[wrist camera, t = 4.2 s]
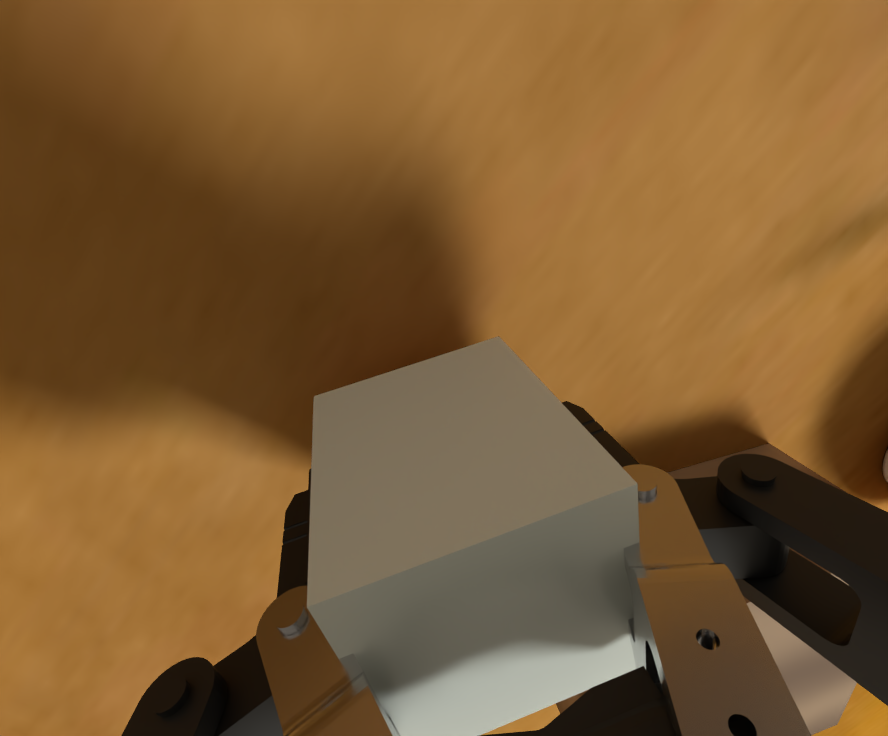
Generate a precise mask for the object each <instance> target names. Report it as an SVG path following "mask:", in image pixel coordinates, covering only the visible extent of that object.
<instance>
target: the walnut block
mask: <svg viewBox="0 0 888 736" xmlns="http://www.w3.org/2000/svg"><path fill="white" fill-rule="evenodd" d="M738 454H759V455H764V456H768V457H771V458H774V459H777V460H779V461H781V462H783V463H785V464H787V465H790V466H792V467H794V468H796V469H798V470H800V471H802V472H804V473H806V474H808V475H810V476H813V477H815V478H817V479H819V480H821V481H823V482H825V483H827V484H829V485H831V486H833V487H836V488H838V489H840V488H839V487H837V486H835V485H834V484H832V483H831V482H829V481H828V480H826V479H824V478H823V477H821V476H820V475H818V474H816V473H815V472H813V471H812V470H810V469H809V468H807V467H805V466H804V465H802V464H801V463H799V462H798V461H796V460H794V459H793V458H791V457H790V456H788V455H787V454H785V453H783V452H782V451H780V450H779V449H777V448H776V447H774V446H772V445H771V444H765V445H762V446H758V447H755V448H751V449H748V450H744V451H741V452H737V453H734V454H730V455H727V456H723V457H720V458H717V459H713V460H710V461H706V462H703V463H699V464H696V465H692V466H689V467H685V468H682V469H678V470H675V471H671V472H668V474H669V475H671V476H672V477H673V478H674V479H690V478H701V477H712V476H717V472H718V467H719V465H720V463H721V462H722V461H723V460H725V459H726V458H728V457H731V456H733V455H738ZM840 490H842V489H840ZM842 491H843V490H842ZM844 492H845V491H844ZM790 549H791V548H790ZM791 550H792V551H794V552H796V551H795V550H793V549H791ZM796 553H797V554H799V555H800V556H802V557H804V556H803V555H801V554H800V553H798V552H796ZM804 558H805V559H807V560H808V561H810V562H812V563H813V564H815V565H817V564H816V563H814V562H813V561H811V560H809V559H808V558H806V557H804ZM817 566H818V567H820V568H821V569H823V570H825V571H826V572H828V573H830V572H829V571H827V570H826V569H824V568H822V567H821V566H819V565H817ZM830 574H831V575H833V576H834V577H836V578H838V579H839V580H841V581H842V582H844V581H843V580H842V579H840V578H839V577H837V576H835V575H834V574H832V573H830ZM844 583H846V582H844ZM846 584H847V583H846ZM847 585H848V584H847ZM743 597H744V596H743ZM744 599H745V601H746V603H747V605H748V607H749V609H750V611H751V613H752V615H753V618H754V620H755V622H756V624H757V626H758V628H759V630H760V632H761V634H762V636H763V638H764V640H765V642H766V644H767V646H768V648H769V650H770V652H771V654H772V656H773V658H774V660H775V662H776V664H777V666H778V668H779V671H780V673H781V675H782V677H783V679H784V681H785V683H786V685H787V687H788V689H789V691H790V693H791V695H792V697H793V699H794V701H795V703H796V705H797V707H798V709H799V711H800V713H801V715H802V717H803V719H804V722H805V724H806V726H807V728H808V730H809V732H810V734H811V735H813V734H815V733H818V732H820V731H822V730H825V729H827V728H830V727H832V726H835V725H837V724H838V722H839V720H840V717H841V715H842V713H843V711H844V709H845V707H846V705H847V703H848V700H849V698H850V696H851V694H852V692H853V690H854V688H855V686H856V683H857V682H856V681H854V680H853V679H852V678H850V677H849V676H848V675H846V674H845V673H844V672H843V671H841V670H840V669H839V668H837V667H836V666H835V665H833V664H832V663H831V662H829V661H828V660H827V659H825V658H824V657H823V656H821V655H820V654H819V653H817V652H816V651H815V650H814V649H812V648H811V647H810V646H808V645H807V644H806V643H804V642H803V641H802V640H800V639H799V638H798V637H796V636H795V635H794V634H792V633H791V632H790V631H788V630H787V629H786V628H784V627H783V626H782V625H781V624H779V623H778V622H777V621H775V620H774V619H773V618H771V617H770V616H769V615H767V614H766V613H765V612H763V611H762V610H761V609H759V608H758V607H757V606H755V605H754V604H753V603H752V602H750V601H749V600H748V599H746V598H745V597H744ZM587 691H588V690H586V691H584V692H582V693H579V694H577V695H574V696H572V697H570V698H567V699H565V700H563V701H560V702H558V703H556V705H557V707H558V709H559V712H560V714H561V713H562V712H563V711H565V710H566V709H567V708H568V707H569V706H570V705H572V704H573V703H574V702H575V701H576V700H577V699H579V698H580V697H581V696H582V695H583V694H584V693H586V692H587Z"/></svg>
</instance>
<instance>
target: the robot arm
mask: <svg viewBox="0 0 888 736" xmlns="http://www.w3.org/2000/svg"><path fill="white" fill-rule="evenodd" d="M562 404H563V405H564V406H565V407H566V408H567V409H568V410H569V411H570V412H571V413H572V415H573V416H574V417H575V418H576V419H577V420H578V421H579V422H580V423H581V424H582V425H583V426H584V427H585V428H586V429H587V430H588V432H589V433H590V434H591V435H592V436H593V437H594V438H595V439H596V440H597V441H598V442H599V443H600V444H601V445H602V446H603V448H604V449H605V450H606V451H607V452H608V453H609V454H610V455H611V456H612V457H613V458H614V459H615V460H616V461H617V462H618V463H619V465H620V466H621V467H622V468H623V469H624V470H625V471H626V472H627V473H628V474H629V475H630V476H631V477H632V478H633V479H634V481H635V482H636V483H637V485H638V514H639V543H636V544H634V545H631V546H628V547H626V548H624V563H625V569H626V573H627V577H628V581H629V585H630V590H631V595H632V601H633V612H634V618H631V619H629V620H628V629H629V637H630V641H631V645H632V650H633V654H634V659H635V665H636V669H635V670H632V671H630V672H628V673H625V674H623V675H621V676H618V677H616V678H613V679H611V680H609V681H606V682H604V683H602V684H599V685H597V686H594V687H592V688H590V689H589V690H588V691H587V692H586V693H584V694H583V695H582V696H581V697H580V698H579V699H577V700H576V701H575V702H574V703H573V704H572V705H570V706H569V707H568V708H567V709H566V710H565V711H563V712H562V713H561V714H560V715H559V716H558V717H556V718H555V719H554V720H553V721H552V722H551V723H549V724H548V725H547V726H546V727H544V728H542V729H540V730H536V731H526V732H514V733H503V734H492V735H481V736H811V734H810V732H809V730H808V728H807V726H806V724H805V722H804V719H803V717H802V715H801V713H800V711H799V709H798V707H797V705H796V703H795V701H794V699H793V697H792V695H791V693H790V691H789V689H788V687H787V685H786V683H785V681H784V679H783V677H782V675H781V673H780V671H779V668H778V666H777V664H776V662H775V660H774V658H773V656H772V654H771V652H770V650H769V648H768V646H767V644H766V642H765V640H764V638H763V636H762V634H761V632H760V630H759V628H758V626H757V624H756V622H755V620H754V618H753V615H752V613H751V611H750V609H749V607H748V605H747V603H746V601H745V599H744V597H745V598H746V599H748V600H749V601H750V602H752V603H753V604H754V605H755V606H757V607H758V608H759V609H761V610H762V611H763V612H765V613H766V614H767V615H769V616H770V617H771V618H773V619H774V620H775V621H777V622H778V623H779V624H781V625H782V626H783V627H784V628H786V629H787V630H788V631H790V632H791V633H792V634H794V635H795V636H796V637H798V638H799V639H800V640H802V641H803V642H804V643H806V644H807V645H808V646H810V647H811V648H812V649H814V650H815V651H816V652H817V653H819V654H820V655H821V656H823V657H824V658H825V659H827V660H828V661H829V662H831V663H832V664H833V665H835V666H836V667H837V668H839V669H840V670H841V671H843V672H844V673H845V674H846V675H848V676H849V677H850V678H852V679H853V680H854V681H856V682H857V683H858V684H860V685H861V686H862V687H864V688H865V689H866V690H868V691H869V692H870V693H872V694H873V695H874V696H876V697H877V698H878V699H879V700H881V701H882V702H883V703H885V704H886V705H887V706H888V512H886V511H884V510H882V509H880V508H877V507H875V506H873V505H871V504H869V503H867V502H865V501H863V500H861V499H859V498H857V497H854V496H852V495H850V494H848V493H846V492H844V491H842V490H840V489H838V488H836V487H833V486H831V485H829V484H827V483H825V482H823V481H821V480H819V479H817V478H815V477H813V476H810V475H808V474H806V473H804V472H802V471H800V470H798V469H796V468H794V467H792V466H790V465H787V464H785V463H783V462H781V461H779V460H777V459H774V458H771V457H768V456H764V455H759V454H738V455H733V456H731V457H728V458H726V459H725V460H723V461H722V462H721V463H720V465H719V467H718V472H717V476H712V477H701V478H690V479H674V478H673V477H672V476H671V475H669V474H668V473H667V472H665V471H663V470H661V469H659V468H657V467H653V466H649V465H641V464H639V463H638V462H637V461H636V460H635V459H634V458H633V457H632V456H631V455H630V454H629V453H628V452H627V451H626V450H625V449H624V448H623V447H622V446H621V445H620V444H619V443H618V442H617V441H616V440H615V439H614V438H613V437H612V436H611V435H610V434H609V433H608V432H607V431H604V429H603V427H602V426H601V425H600V424H598V423H597V422H595V420H594V419H593V418H592V417H591V416H590V415H589V414H588V413H587V412H586V411H585V410H584V409H583V408H581V407H579V406H577V405H575V404H572V403H570V402H568V401H565V402H562ZM310 495H311V469H310V470H309V487H308V490H307V491H304V492H301V493H298V494H295V496H294V497H293V499H292V501H291V503H290V505H289V506H288V508H287V510H286V513H285V523H284V530H285V531H284V533H283V545H282V552H281V562H280V572H279V582H278V592H277V598H276V599H275V600H274V601H273V602H272V603H271V604H270V605H269V607H268V608H267V609H266V610H265V612H264V613H263V615H262V617H261V619H260V621H259V624H258V627H257V631H256V635H255V636H254V637H253V638H252V639H251V640H250V641H248V642H247V643H246V644H244V645H243V646H242V647H240V648H239V649H237V650H236V651H234V652H233V653H231V654H230V655H229V656H227V657H226V658H224V659H223V660H221V661H220V662H218V663H217V664H216V665H214V666H213V665H212V664H211V663H210V662H209V661H208V660H206V659H204V658H200V657H193V658H189V659H185V660H183V661H180V662H178V663H177V664H175V665H173V666H172V667H170V668H169V669H167V670H166V671H165V672H164V673H162V674H161V675H160V676H159V677H158V678H157V679H156V680H155V681H154V682H153V683H152V684H151V685H150V687H149V688H148V689H147V690H146V692H145V693H144V695H143V696H142V698H141V700H140V701H139V703H138V705H137V707H136V709H135V711H134V713H133V715H132V716H131V718H130V720H129V722H128V724H127V726H126V728H125V730H124V732H123V734H122V736H401V735H400V733H399V731H398V729H397V728H396V726H395V724H394V722H393V721H392V719H391V717H388V716H387V714H386V712H385V711H384V709H383V707H382V705H381V704H380V702H379V700H378V698H377V696H376V694H375V692H374V691H373V689H372V687H371V685H370V683H369V681H368V679H367V677H366V675H365V673H364V671H363V669H362V667H361V665H360V664H359V662H358V660H357V659H356V657H355V655H354V653H353V654H350V655H348V656H345V657H343V658H340V659H338V657H337V655H336V654H335V652H334V651H333V649H332V647H331V646H330V644H329V642H328V641H327V639H326V638H325V636H324V634H323V633H322V631H321V629H320V628H319V626H318V625H317V623H316V621H315V620H314V618H313V616H312V615H311V613H310V612H309V610H308V608H307V586H308V555H309V525H310ZM790 548H791V549H793V550H795V551H796V552H798V553H800V554H801V555H803V556H804V557H806V558H808V559H809V560H811V561H813V562H814V563H816V564H817V565H819V566H821V567H822V568H824V569H826V570H827V571H829V572H830V573H832V574H834V575H835V576H837V577H839V578H840V579H842V580H843V581H844V582H846V583H847V584H848V585H847V584H846V583H844V582H842V581H841V580H839V579H838V578H836V577H834V576H833V575H831V574H830V573H828V572H826V571H825V570H823V569H821V568H820V567H818V566H817V565H815V564H813V563H812V562H810V561H808V560H807V559H805V558H804V557H802V556H800V555H799V554H797V553H796V552H794V551H792V550H791V549H790ZM743 596H744V597H743Z"/></svg>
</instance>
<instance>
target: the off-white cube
mask: <svg viewBox="0 0 888 736" xmlns="http://www.w3.org/2000/svg"><path fill="white" fill-rule="evenodd" d="M636 543H639V514H638V485H637V483H636V482H635V481H634V479H633V478H632V477H631V476H630V475H629V474H628V473H627V472H626V471H625V470H624V469H623V468H622V467H621V466H620V465H619V463H618V462H617V461H616V460H615V459H614V458H613V457H612V456H611V455H610V454H609V453H608V452H607V451H606V450H605V449H604V448H603V446H602V445H601V444H600V443H599V442H598V441H597V440H596V439H595V438H594V437H593V436H592V435H591V434H590V433H589V432H588V430H587V429H586V428H585V427H584V426H583V425H582V424H581V423H580V422H579V421H578V420H577V419H576V418H575V417H574V416H573V415H572V413H571V412H570V411H569V410H568V409H567V408H566V407H565V406H564V405H563V404H562V403H561V402H560V401H559V400H558V399H557V397H556V396H555V395H554V394H553V393H552V392H551V391H550V390H549V389H548V388H547V387H546V386H545V385H544V384H543V383H542V382H541V380H540V379H539V378H538V377H537V376H536V375H535V374H534V373H533V372H532V371H531V370H530V369H529V368H528V367H527V366H526V365H525V363H524V362H523V361H522V360H521V359H520V358H519V357H518V356H517V355H516V354H515V353H514V352H513V351H512V350H511V349H510V347H509V346H508V345H507V344H506V343H505V342H504V341H503V340H502V339H501V338H500V337H499V336H498V337H495V338H492V339H489V340H486V341H483V342H479V343H476V344H473V345H470V346H467V347H464V348H461V349H458V350H455V351H452V352H449V353H446V354H443V355H439V356H436V357H433V358H430V359H427V360H424V361H421V362H418V363H415V364H412V365H409V366H406V367H402V368H399V369H396V370H393V371H390V372H387V373H384V374H381V375H378V376H375V377H372V378H369V379H366V380H362V381H359V382H356V383H353V384H350V385H347V386H344V387H341V388H338V389H335V390H332V391H329V392H325V393H322V394H319V395H316V396H314V404H313V434H312V464H311V495H310V525H309V555H308V586H307V608H308V610H309V612H310V613H311V615H312V616H313V618H314V620H315V621H316V623H317V625H318V626H319V628H320V629H321V631H322V633H323V634H324V636H325V638H326V639H327V641H328V642H329V644H330V646H331V647H332V649H333V651H334V652H335V654H336V655H337V657H338V659H340V658H343V657H345V656H348V655H350V654H353V653H354V655H355V657H356V659H357V660H358V662H359V664H360V665H361V667H362V669H363V671H364V673H365V675H366V677H367V679H368V681H369V683H370V685H371V687H372V689H373V691H374V692H375V694H376V696H377V698H378V700H379V702H380V704H381V705H382V707H383V709H384V711H385V712H386V714H387V716H388V717H391V719H392V721H393V722H394V724H395V726H396V728H397V729H398V731H399V733H400V735H401V736H479V735H482V734H484V733H486V732H489V731H491V730H494V729H496V728H498V727H501V726H503V725H506V724H508V723H510V722H513V721H515V720H517V719H520V718H522V717H525V716H527V715H529V714H532V713H534V712H536V711H539V710H541V709H544V708H546V707H548V706H551V705H553V704H555V703H558V702H560V701H563V700H565V699H567V698H570V697H572V696H574V695H577V694H579V693H582V692H584V691H586V690H589V689H590V688H592V687H594V686H597V685H599V684H602V683H604V682H606V681H609V680H611V679H613V678H616V677H618V676H621V675H623V674H625V673H628V672H630V671H632V670H635V669H636V665H635V659H634V654H633V650H632V645H631V641H630V637H629V629H628V620H629V619H631V618H634V612H633V601H632V595H631V590H630V585H629V581H628V577H627V573H626V569H625V563H624V548H626V547H628V546H631V545H634V544H636Z"/></svg>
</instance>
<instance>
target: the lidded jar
mask: <svg viewBox="0 0 888 736" xmlns="http://www.w3.org/2000/svg"><path fill="white" fill-rule="evenodd" d="M882 470H883V476H884V479H885V480H886V482H887V483H888V449H887V451H886V454H885V457H884V461H883V468H882Z"/></svg>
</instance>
